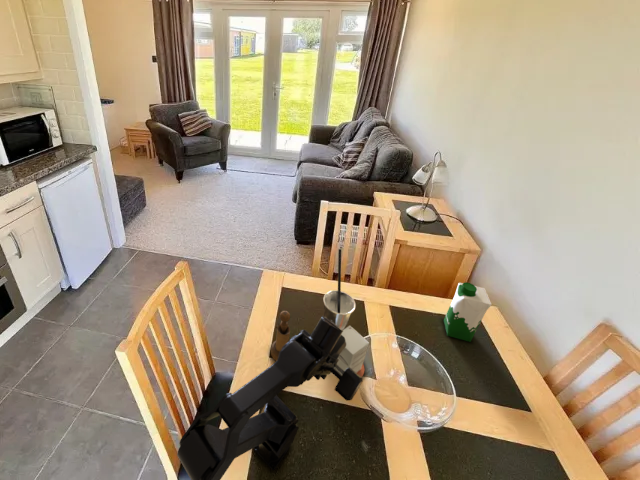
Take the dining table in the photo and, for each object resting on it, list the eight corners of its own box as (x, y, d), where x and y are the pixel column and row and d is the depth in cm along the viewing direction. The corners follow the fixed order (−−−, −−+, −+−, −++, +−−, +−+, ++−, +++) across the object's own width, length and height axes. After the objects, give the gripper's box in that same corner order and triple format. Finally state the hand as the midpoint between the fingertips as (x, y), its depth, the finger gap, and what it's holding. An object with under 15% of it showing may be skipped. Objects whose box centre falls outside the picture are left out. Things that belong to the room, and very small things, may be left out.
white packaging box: (327, 363, 97) (333, 335, 92) (343, 351, 101) (350, 324, 95) (345, 383, 92) (352, 355, 86) (361, 369, 96) (370, 342, 90)
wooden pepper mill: (290, 364, 97) (295, 324, 89) (269, 360, 98) (272, 319, 90) (292, 346, 103) (297, 306, 94) (272, 342, 104) (276, 302, 95)
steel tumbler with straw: (326, 314, 115) (339, 247, 101) (354, 333, 108) (372, 265, 94) (308, 331, 108) (319, 262, 94) (337, 353, 101) (353, 282, 87)
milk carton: (440, 317, 115) (458, 275, 106) (468, 324, 113) (489, 282, 103) (444, 337, 108) (464, 294, 98) (474, 345, 105) (498, 302, 96)
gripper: (366, 360, 70) (380, 362, 82) (303, 309, 82) (323, 317, 94) (339, 404, 69) (358, 400, 81) (279, 346, 81) (303, 349, 93)
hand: (334, 363), depth 87 cm, fingers open, 9 cm apart
